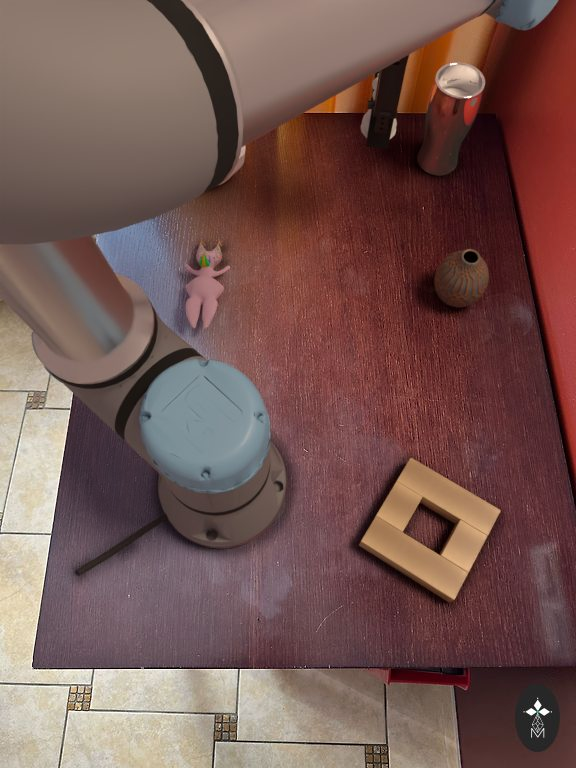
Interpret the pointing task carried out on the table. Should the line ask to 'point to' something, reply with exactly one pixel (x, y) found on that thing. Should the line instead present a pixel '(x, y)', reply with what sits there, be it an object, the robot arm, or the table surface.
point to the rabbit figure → (204, 285)
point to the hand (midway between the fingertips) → (378, 129)
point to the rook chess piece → (367, 116)
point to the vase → (461, 278)
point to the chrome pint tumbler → (450, 116)
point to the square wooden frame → (412, 556)
